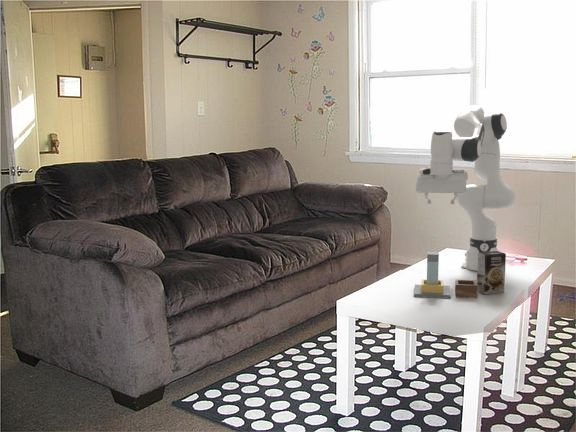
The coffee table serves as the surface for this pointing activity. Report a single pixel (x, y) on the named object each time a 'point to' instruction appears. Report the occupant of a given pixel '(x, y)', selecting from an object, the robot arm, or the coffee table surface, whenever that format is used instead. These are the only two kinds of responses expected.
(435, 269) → the plug
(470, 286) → the box
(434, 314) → the coffee table surface
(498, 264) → the coffee box
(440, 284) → the dock
